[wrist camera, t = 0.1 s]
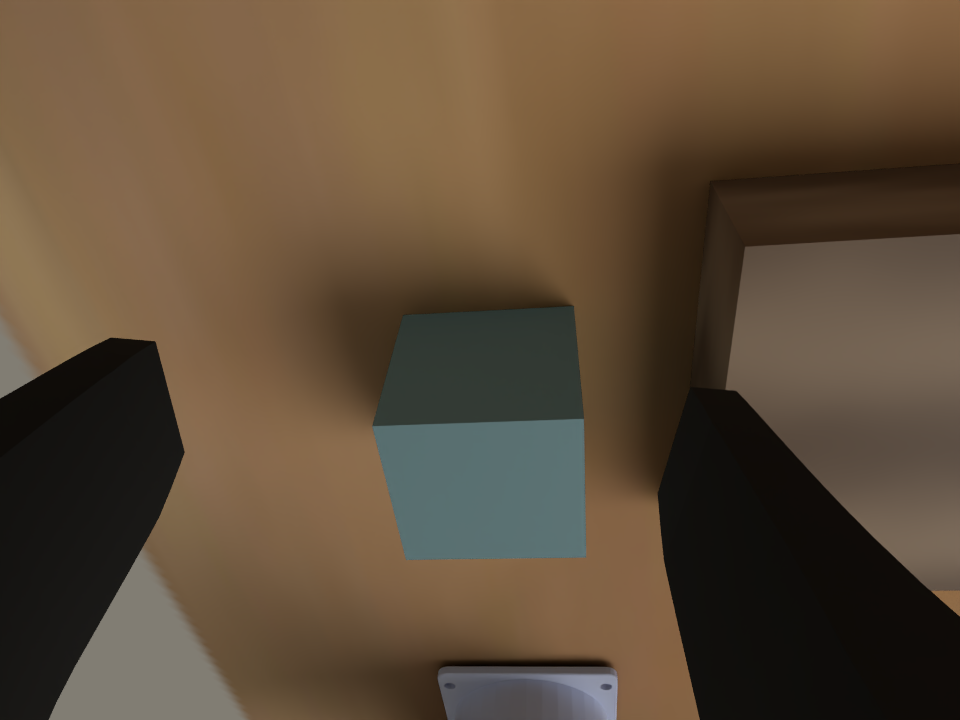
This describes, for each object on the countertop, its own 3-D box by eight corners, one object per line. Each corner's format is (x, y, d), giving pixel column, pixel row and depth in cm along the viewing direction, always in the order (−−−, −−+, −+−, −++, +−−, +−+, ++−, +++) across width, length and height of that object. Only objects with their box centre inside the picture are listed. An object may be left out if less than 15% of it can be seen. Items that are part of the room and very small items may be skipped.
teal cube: (576, 433, 23) (585, 557, 19) (428, 438, 24) (406, 559, 20) (573, 304, 20) (583, 418, 16) (403, 313, 21) (372, 426, 17)
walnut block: (1037, 488, 24) (1116, 589, 20) (676, 496, 25) (697, 592, 22) (1223, 138, 17) (1390, 208, 13) (707, 174, 18) (745, 246, 15)
